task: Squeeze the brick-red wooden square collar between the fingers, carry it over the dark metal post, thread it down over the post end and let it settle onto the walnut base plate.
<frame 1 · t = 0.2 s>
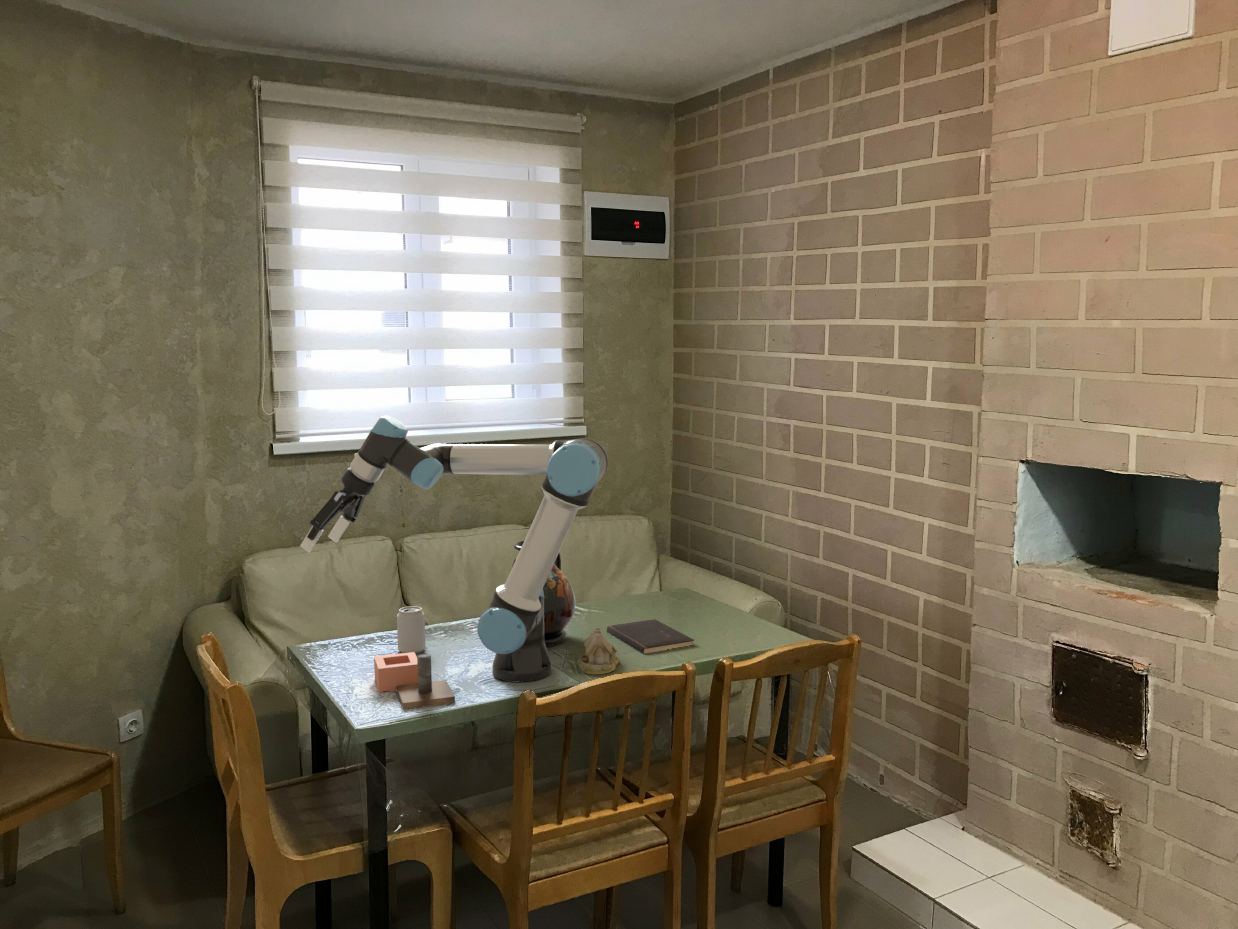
hand: (319, 544, 238), 35 cm above the table, tool tilted 35°, fingers open, 13 cm apart
collar: (397, 683, 241), on the table
amphora vase: (538, 641, 275), on the table
post stand: (425, 697, 231), on the table
ceramic model: (598, 667, 253), on the table
can: (411, 651, 266), on the table
hardcover book: (649, 641, 276), on the table
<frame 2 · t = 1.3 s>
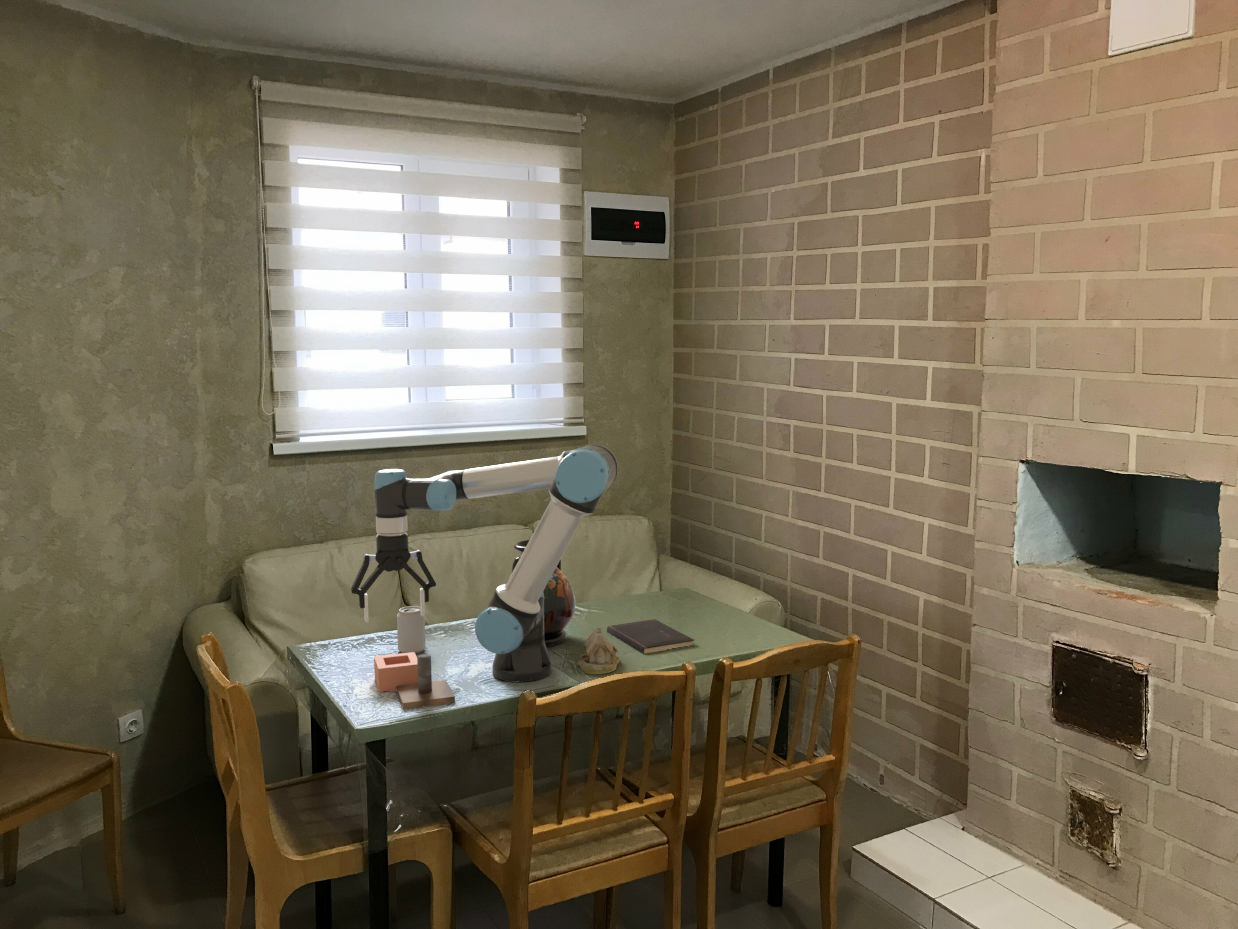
hand: (395, 618, 239), 17 cm above the table, tool pointing down, fingers open, 13 cm apart
nothing on the table moved.
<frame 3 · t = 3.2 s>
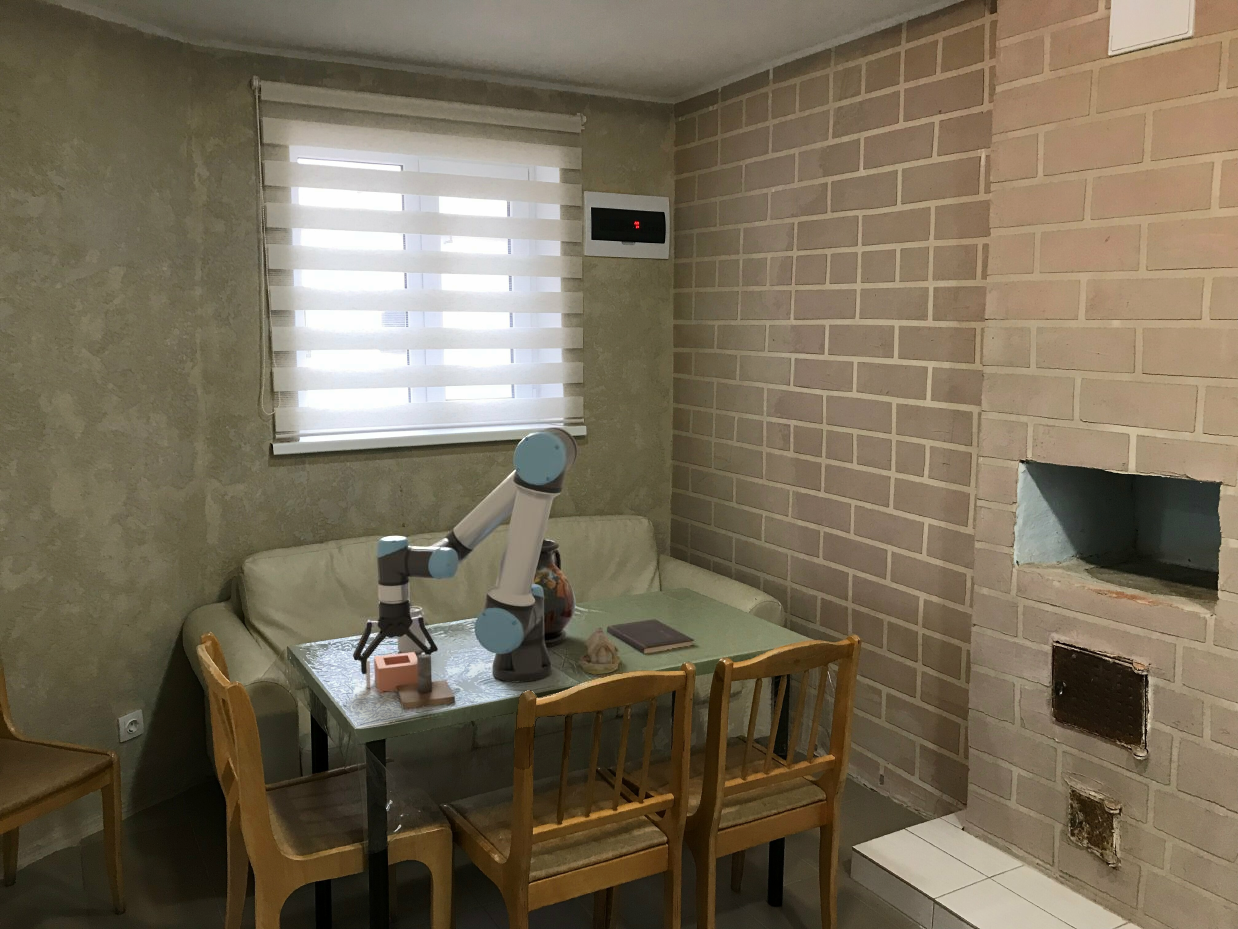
hand: (396, 683, 241), 0 cm above the table, tool pointing down, fingers open, 13 cm apart
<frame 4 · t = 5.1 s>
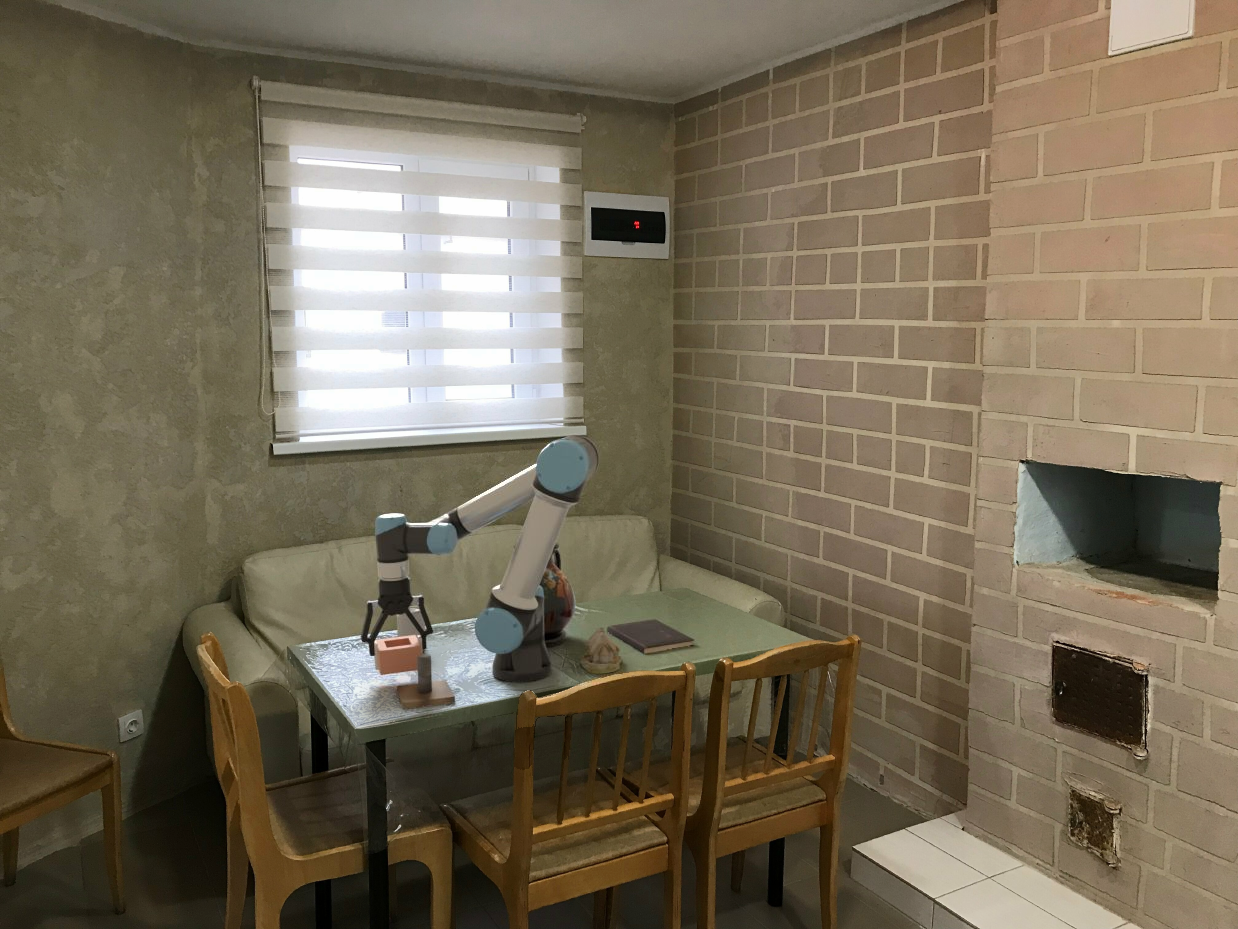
hand: (399, 665, 240), 5 cm above the table, tool pointing down, fingers closed on collar, 10 cm apart
collar: (399, 666, 240), point 4 cm above the table, touching gripper
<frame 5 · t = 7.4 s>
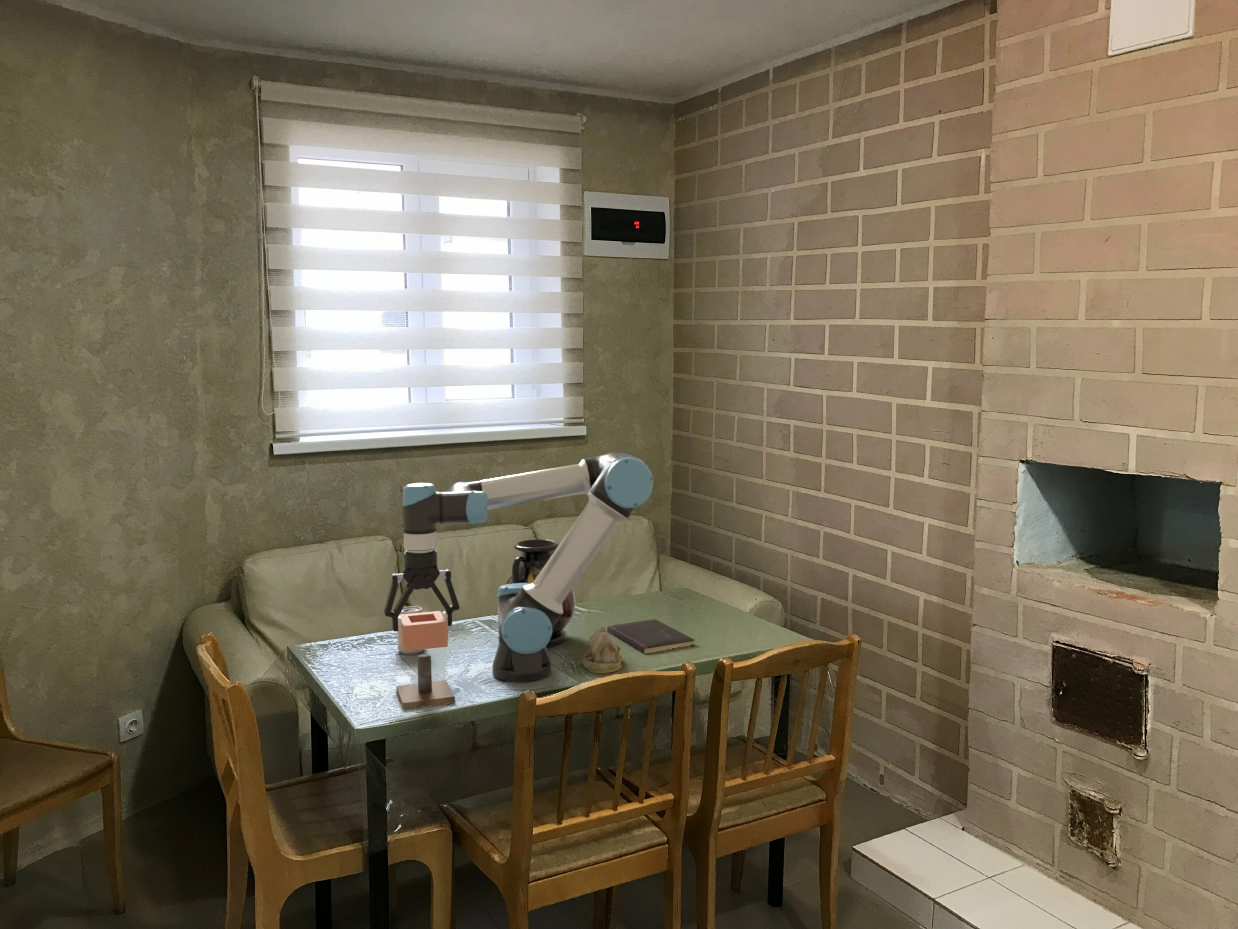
hand: (422, 641, 230), 14 cm above the table, tool pointing down, fingers closed on collar, 10 cm apart
collar: (422, 642, 229), point 13 cm above the table, touching gripper
when the fingers open (3 cm above the table, at t = 9.9 s): collar stays where it is, resting on post stand.
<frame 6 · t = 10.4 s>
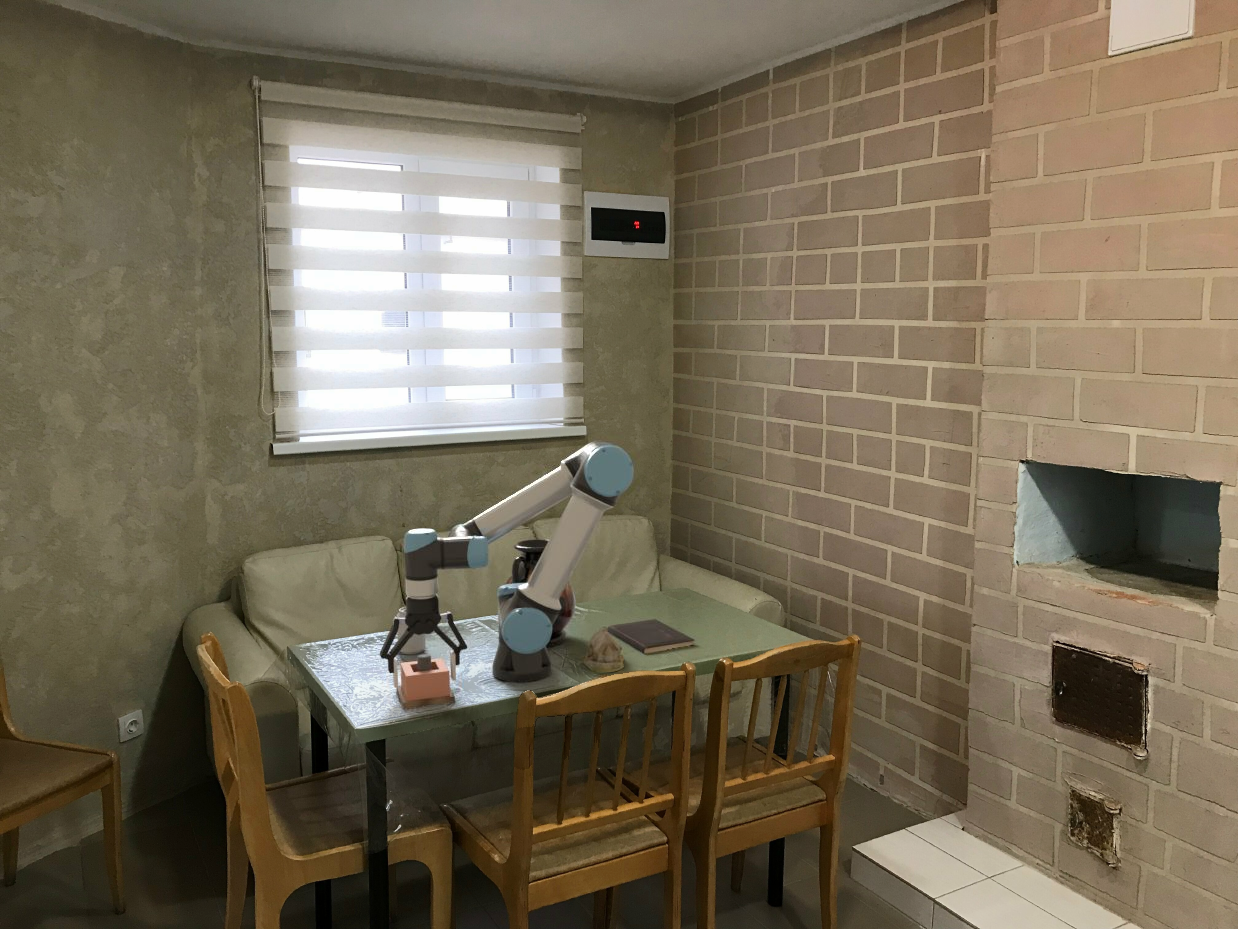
hand: (424, 682, 231), 4 cm above the table, tool pointing down, fingers open, 13 cm apart
collar: (425, 691, 231), point 1 cm above the table, touching post stand
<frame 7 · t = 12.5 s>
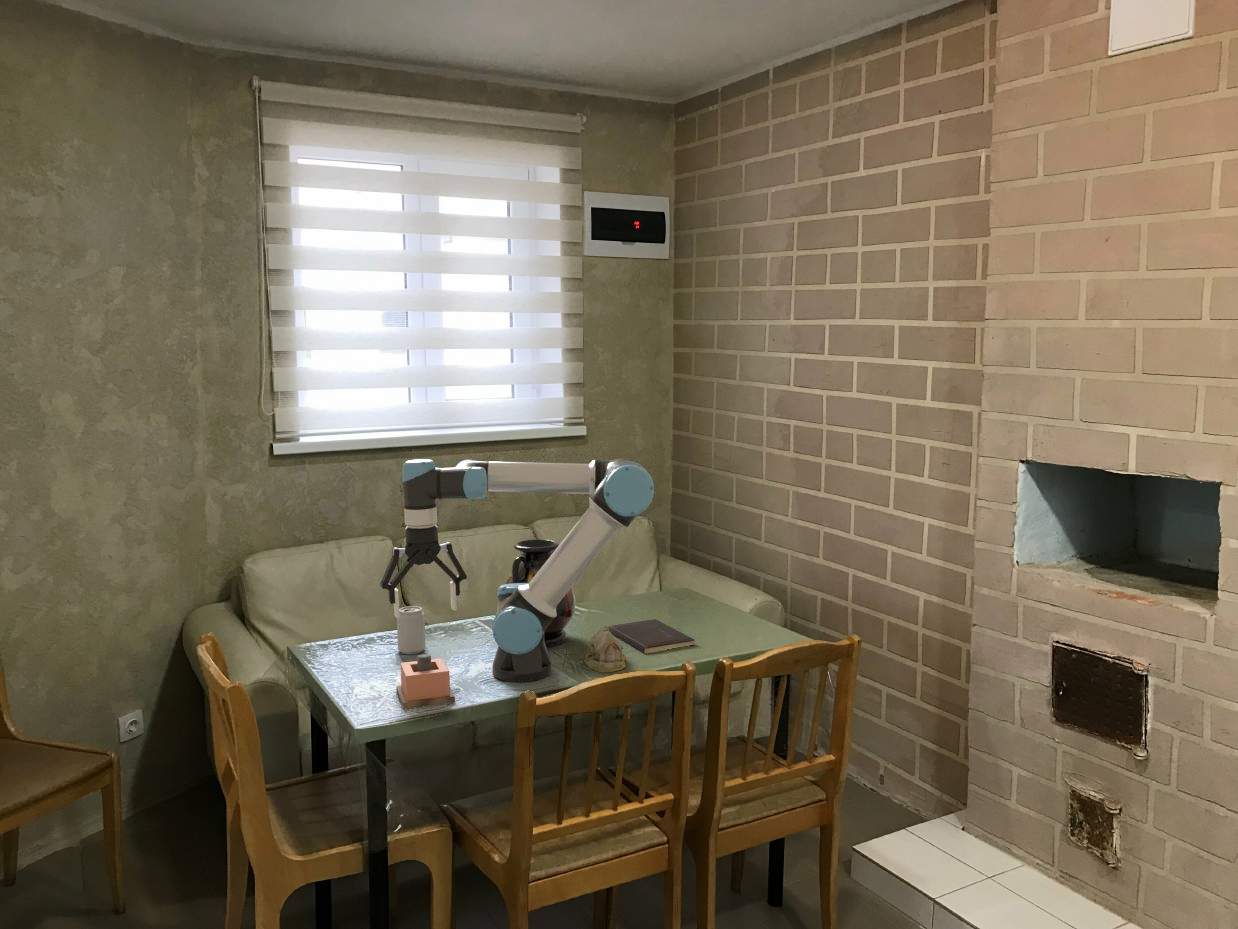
hand: (425, 612, 232), 20 cm above the table, tool pointing down, fingers open, 13 cm apart
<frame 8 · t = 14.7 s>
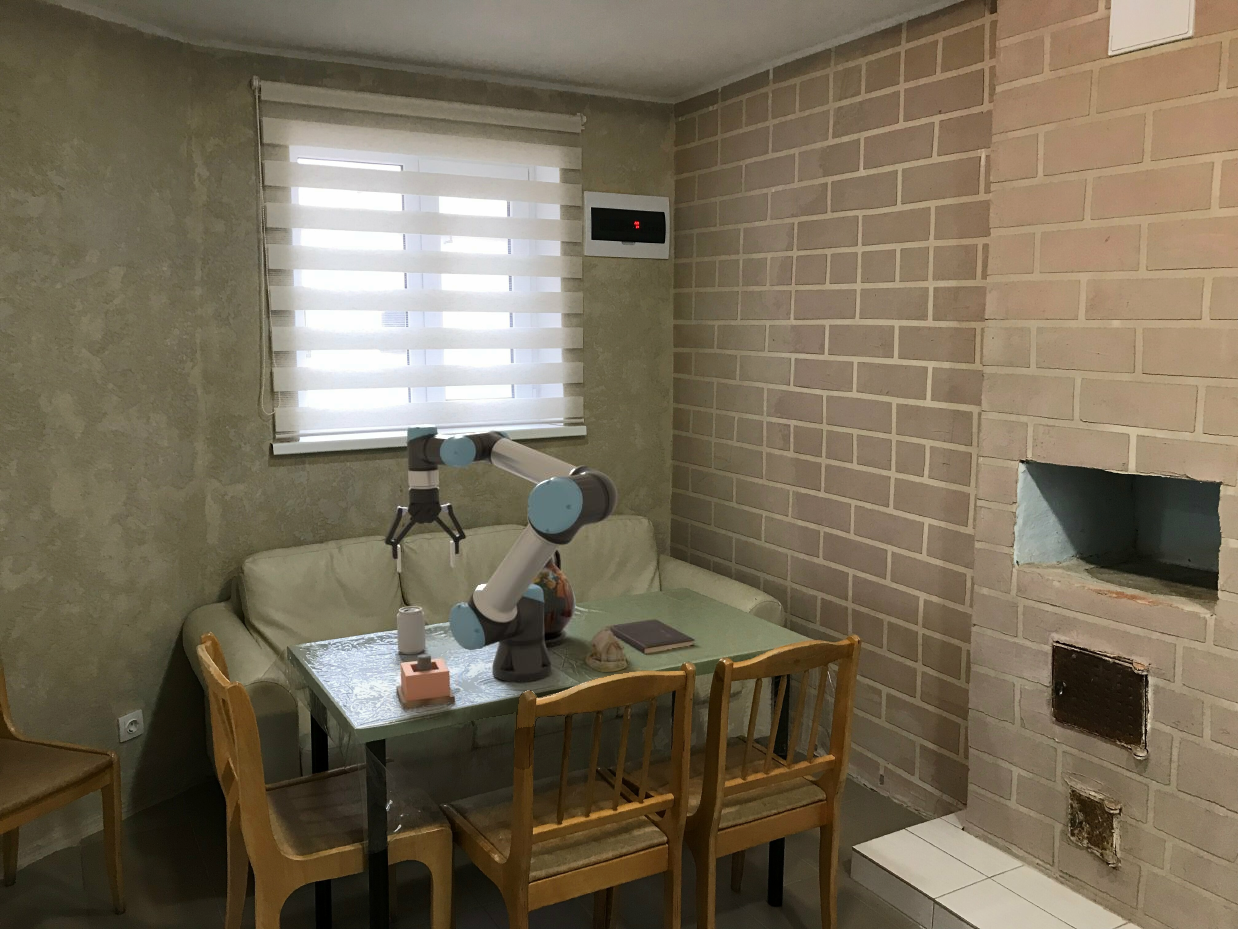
hand: (426, 569, 247), 27 cm above the table, tool pointing down, fingers open, 13 cm apart
at the end: collar 0.1 cm off-centre on the post stand, point 1.5 cm above the post stand's base; the gripper is holding nothing; collar tilted 0° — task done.
